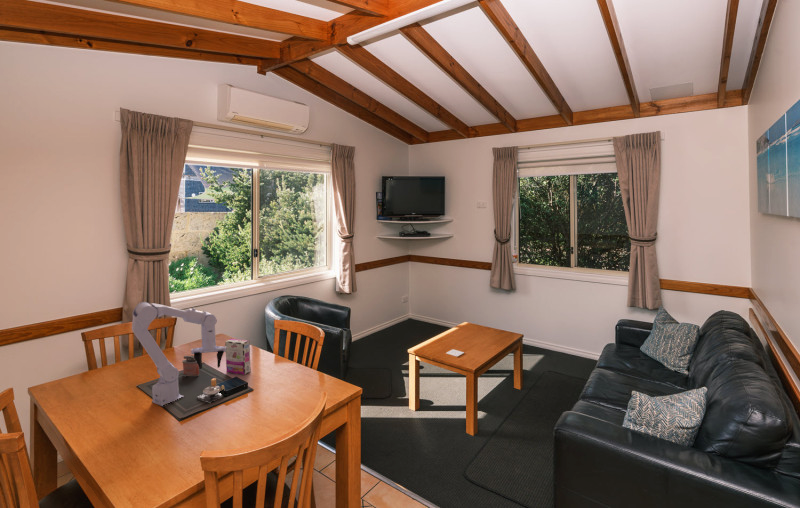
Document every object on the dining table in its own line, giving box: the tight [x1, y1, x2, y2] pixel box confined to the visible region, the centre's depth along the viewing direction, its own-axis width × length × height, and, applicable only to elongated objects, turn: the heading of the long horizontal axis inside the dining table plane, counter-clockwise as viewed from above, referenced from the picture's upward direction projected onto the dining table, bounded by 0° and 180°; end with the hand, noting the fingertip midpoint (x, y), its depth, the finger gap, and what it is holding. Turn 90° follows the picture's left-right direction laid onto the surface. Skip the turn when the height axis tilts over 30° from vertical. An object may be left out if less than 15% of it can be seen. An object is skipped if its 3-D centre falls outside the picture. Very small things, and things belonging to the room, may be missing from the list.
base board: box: [196, 384, 225, 402], centre depth 176 cm, size 9×9×4 cm
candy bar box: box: [224, 338, 252, 376], centre depth 202 cm, size 11×5×16 cm, turn 73°
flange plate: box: [202, 377, 222, 395], centre depth 176 cm, size 8×7×4 cm
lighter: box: [181, 354, 201, 377], centre depth 198 cm, size 8×3×10 cm, turn 84°
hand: (209, 367), depth 185 cm, fingers open, 7 cm apart
